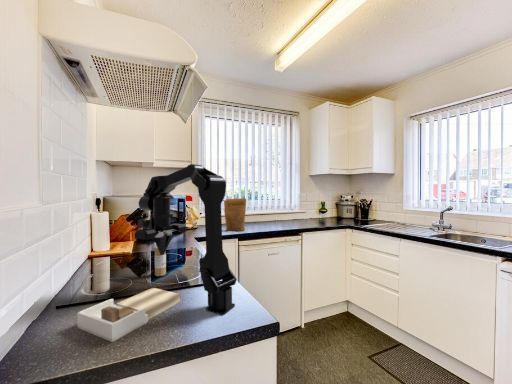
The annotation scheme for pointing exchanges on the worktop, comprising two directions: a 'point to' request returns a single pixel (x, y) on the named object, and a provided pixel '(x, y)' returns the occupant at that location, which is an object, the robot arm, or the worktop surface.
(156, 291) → the birch plate
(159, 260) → the sprinkles bottle
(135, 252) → the worktop surface
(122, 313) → the walnut tile
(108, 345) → the worktop surface
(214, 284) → the robot arm
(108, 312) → the walnut tile
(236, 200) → the pancake mix bag
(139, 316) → the box
